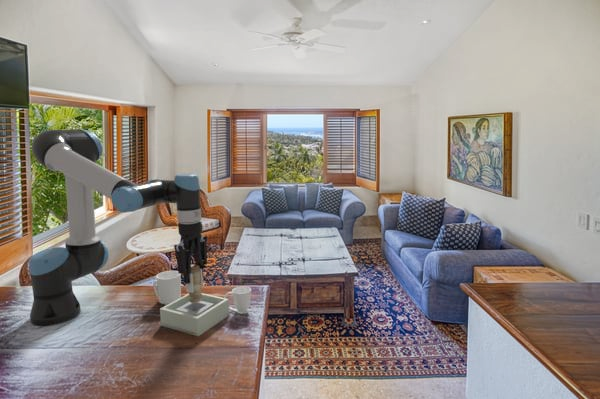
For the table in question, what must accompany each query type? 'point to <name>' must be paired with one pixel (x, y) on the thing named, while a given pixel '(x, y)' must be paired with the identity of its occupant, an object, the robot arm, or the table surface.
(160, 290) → the mug
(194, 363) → the table surface
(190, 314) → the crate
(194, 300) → the peg
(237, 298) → the cup
